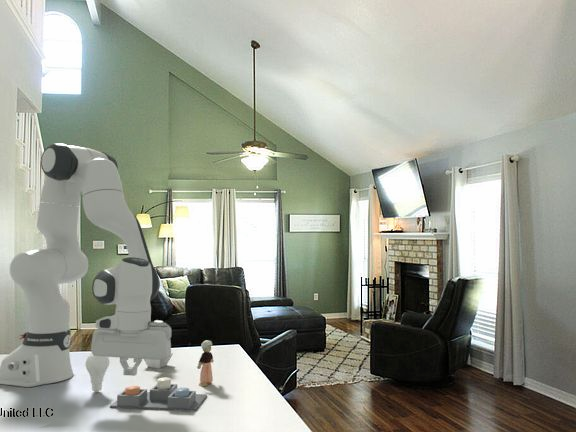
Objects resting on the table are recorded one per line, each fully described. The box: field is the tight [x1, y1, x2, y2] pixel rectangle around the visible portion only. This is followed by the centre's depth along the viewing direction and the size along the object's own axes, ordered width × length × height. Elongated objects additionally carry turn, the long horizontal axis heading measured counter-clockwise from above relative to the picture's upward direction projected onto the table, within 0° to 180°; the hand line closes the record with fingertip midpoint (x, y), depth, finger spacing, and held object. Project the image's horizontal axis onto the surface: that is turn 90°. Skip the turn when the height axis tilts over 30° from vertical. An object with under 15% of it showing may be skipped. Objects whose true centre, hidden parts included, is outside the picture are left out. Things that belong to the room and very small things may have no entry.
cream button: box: [156, 376, 172, 390], centre depth 125 cm, size 4×4×3 cm
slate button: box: [175, 386, 190, 397], centre depth 119 cm, size 4×4×3 cm
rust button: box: [124, 385, 141, 395], centre depth 120 cm, size 4×4×3 cm
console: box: [109, 383, 208, 412], centre depth 122 cm, size 22×11×3 cm, turn 86°
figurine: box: [143, 319, 174, 369], centre depth 157 cm, size 7×9×15 cm
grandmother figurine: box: [196, 339, 214, 387], centre depth 138 cm, size 8×4×13 cm, turn 168°
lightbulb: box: [85, 353, 110, 393], centre depth 130 cm, size 6×6×11 cm
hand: (130, 374), depth 121 cm, fingers closed
